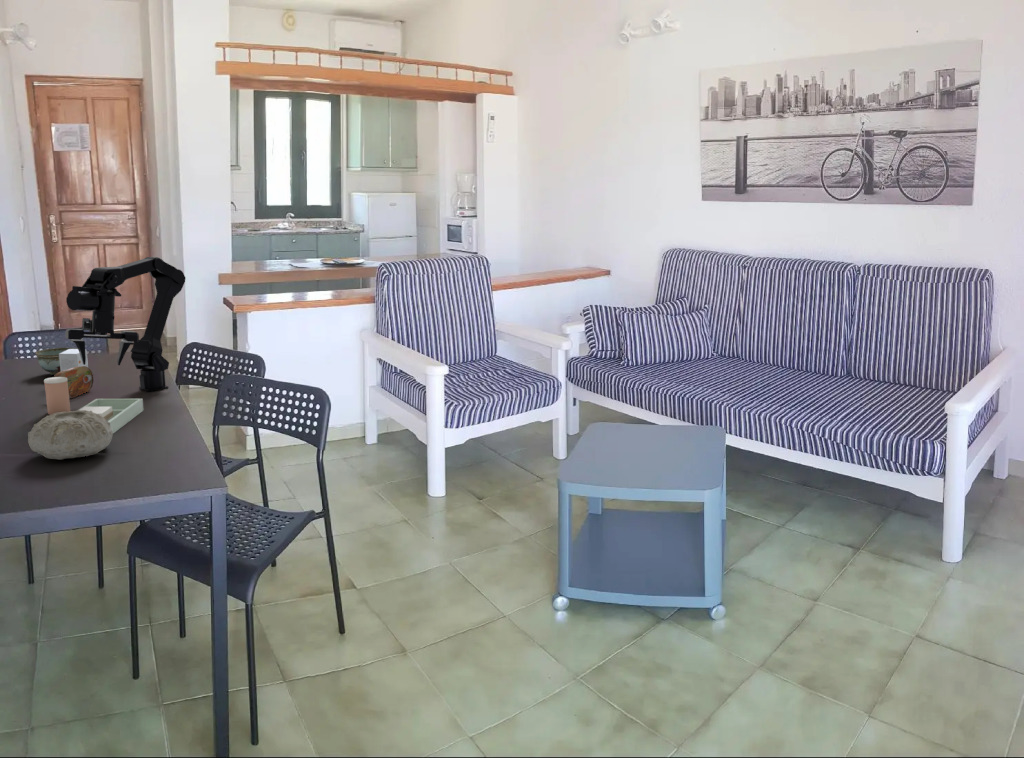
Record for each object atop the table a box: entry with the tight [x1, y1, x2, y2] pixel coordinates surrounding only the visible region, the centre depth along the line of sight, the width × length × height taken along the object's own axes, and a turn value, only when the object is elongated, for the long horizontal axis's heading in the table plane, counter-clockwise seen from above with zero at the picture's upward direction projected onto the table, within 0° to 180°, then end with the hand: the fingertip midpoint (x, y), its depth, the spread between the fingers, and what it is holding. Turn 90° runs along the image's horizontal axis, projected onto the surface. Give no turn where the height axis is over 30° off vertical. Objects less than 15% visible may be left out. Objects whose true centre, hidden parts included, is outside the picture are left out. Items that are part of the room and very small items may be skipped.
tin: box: [53, 366, 94, 400], centre depth 253 cm, size 15×3×8 cm, turn 168°
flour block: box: [79, 406, 113, 421], centre depth 218 cm, size 7×7×5 cm
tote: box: [78, 398, 144, 434], centre depth 224 cm, size 24×13×4 cm, turn 5°
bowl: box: [34, 347, 78, 376], centre depth 280 cm, size 14×13×8 cm
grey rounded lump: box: [27, 409, 114, 461], centre depth 199 cm, size 18×18×10 cm
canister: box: [43, 376, 72, 416], centre depth 233 cm, size 6×6×10 cm
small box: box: [59, 348, 89, 371], centre depth 268 cm, size 8×6×10 cm
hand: (101, 364), depth 245 cm, fingers open, 9 cm apart
